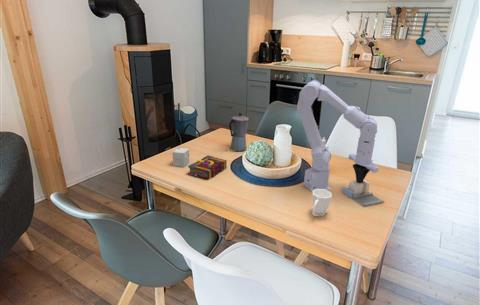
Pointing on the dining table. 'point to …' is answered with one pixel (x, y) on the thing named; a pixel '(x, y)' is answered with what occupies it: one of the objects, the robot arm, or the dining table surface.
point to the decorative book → (207, 167)
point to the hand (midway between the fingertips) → (359, 181)
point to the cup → (321, 201)
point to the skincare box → (180, 157)
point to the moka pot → (238, 132)
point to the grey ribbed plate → (363, 198)
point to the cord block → (359, 187)
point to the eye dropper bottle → (324, 142)
